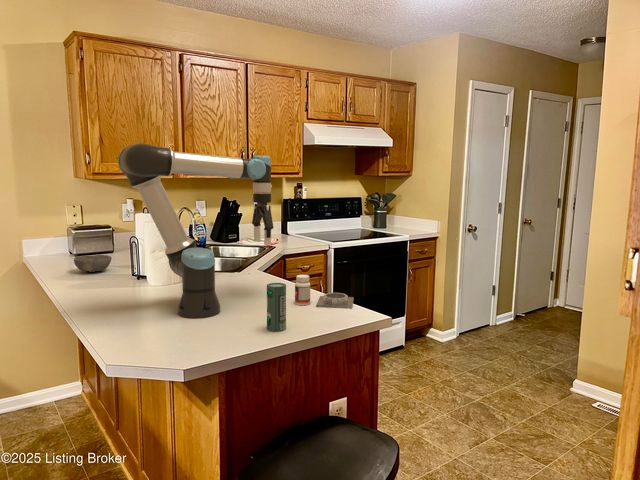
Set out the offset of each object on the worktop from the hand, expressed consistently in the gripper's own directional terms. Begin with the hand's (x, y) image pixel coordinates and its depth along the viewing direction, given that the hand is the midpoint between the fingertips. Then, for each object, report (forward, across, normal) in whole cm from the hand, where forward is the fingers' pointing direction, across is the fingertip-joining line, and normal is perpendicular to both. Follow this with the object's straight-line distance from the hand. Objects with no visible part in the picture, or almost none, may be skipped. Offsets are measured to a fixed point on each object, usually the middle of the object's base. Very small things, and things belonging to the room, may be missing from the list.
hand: (262, 243), depth 199 cm
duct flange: (+22, -25, -22) cm, 40 cm away
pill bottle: (+22, -21, -10) cm, 32 cm away
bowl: (+22, +78, +65) cm, 104 cm away
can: (+22, -46, +11) cm, 52 cm away
